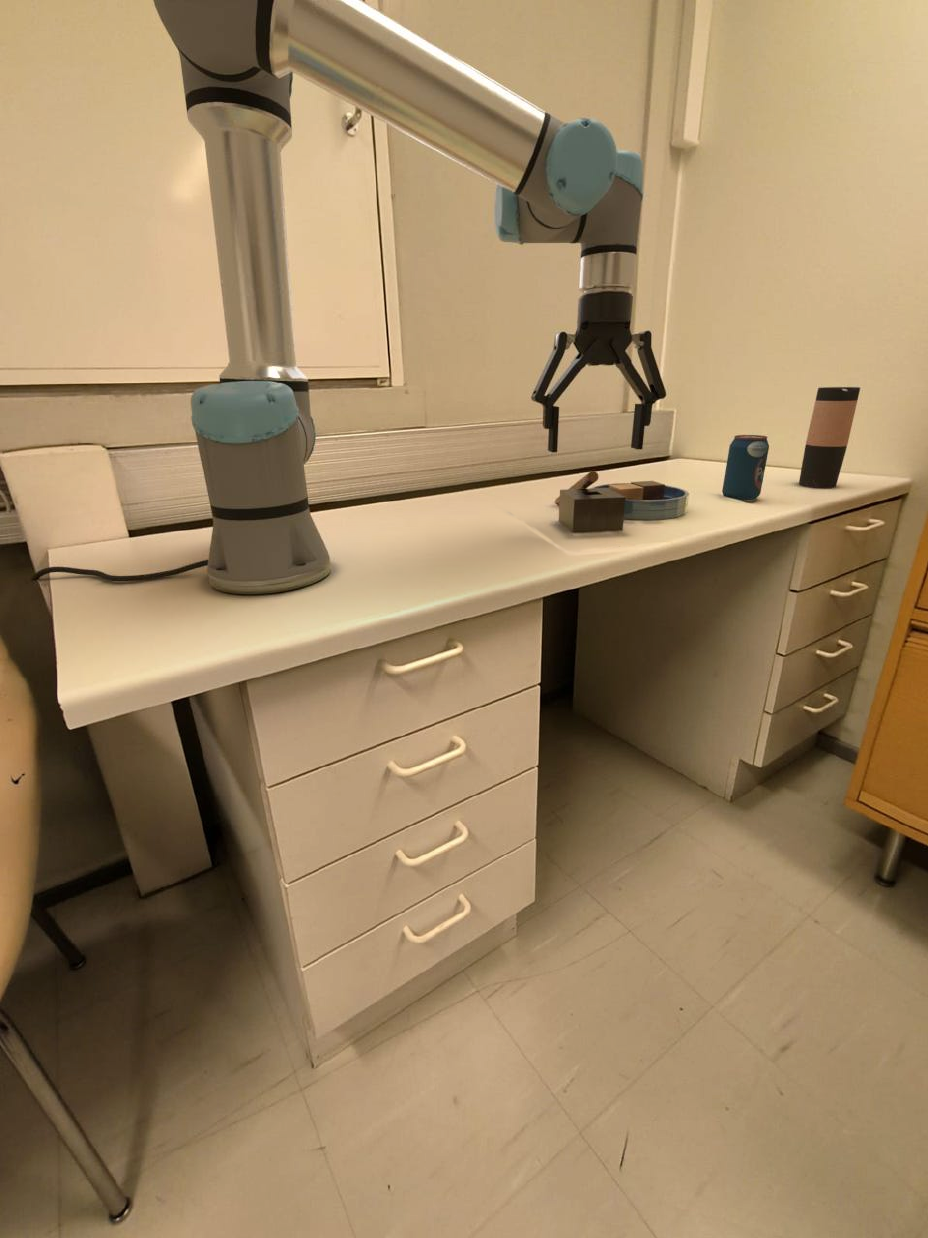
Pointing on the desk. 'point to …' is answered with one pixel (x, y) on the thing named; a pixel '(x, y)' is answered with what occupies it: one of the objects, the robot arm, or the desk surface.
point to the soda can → (745, 467)
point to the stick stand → (591, 510)
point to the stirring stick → (583, 482)
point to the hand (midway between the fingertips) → (594, 450)
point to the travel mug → (828, 436)
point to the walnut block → (651, 490)
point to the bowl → (656, 505)
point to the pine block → (628, 491)
